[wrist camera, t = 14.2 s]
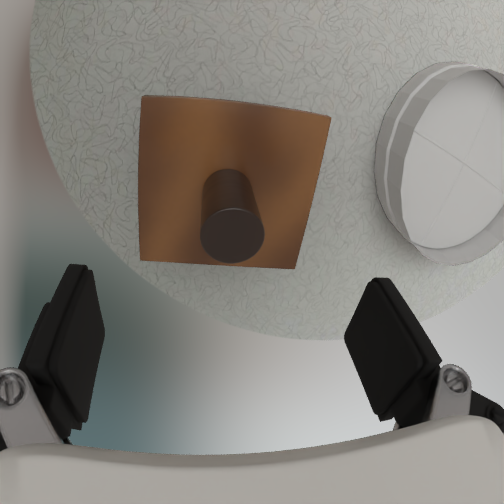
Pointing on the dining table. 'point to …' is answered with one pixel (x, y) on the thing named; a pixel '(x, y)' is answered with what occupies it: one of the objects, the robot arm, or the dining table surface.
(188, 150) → the square peg stand
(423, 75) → the dish
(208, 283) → the dining table surface
